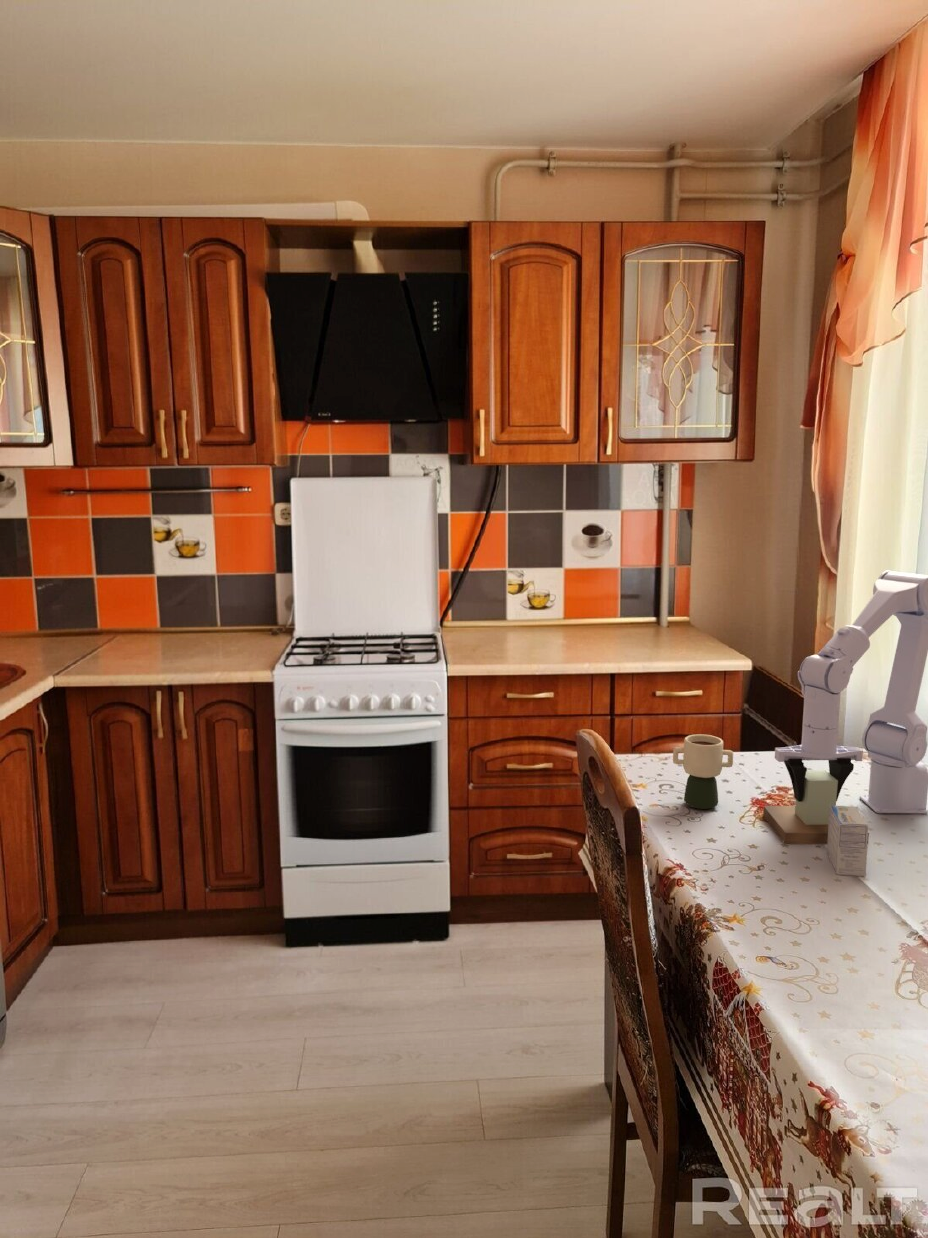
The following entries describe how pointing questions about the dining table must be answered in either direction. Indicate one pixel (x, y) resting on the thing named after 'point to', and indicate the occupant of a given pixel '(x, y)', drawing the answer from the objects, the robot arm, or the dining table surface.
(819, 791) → the sage block
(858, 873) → the medicine box
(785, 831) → the walnut base
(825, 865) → the dining table surface
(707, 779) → the beige green trophy cup
